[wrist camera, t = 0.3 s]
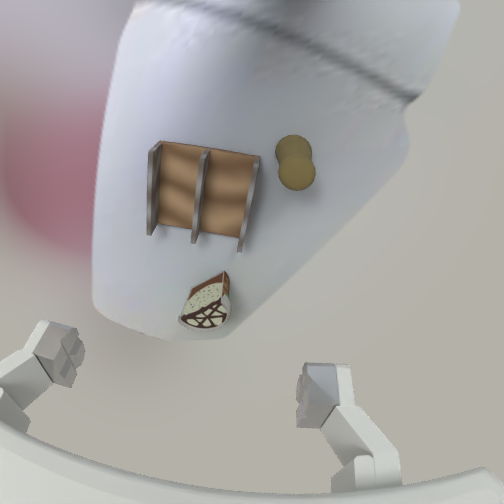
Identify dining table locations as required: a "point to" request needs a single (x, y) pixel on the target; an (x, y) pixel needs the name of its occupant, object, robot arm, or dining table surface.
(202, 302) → the food container
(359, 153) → the dining table surface
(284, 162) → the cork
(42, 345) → the robot arm
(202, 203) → the slot rack
